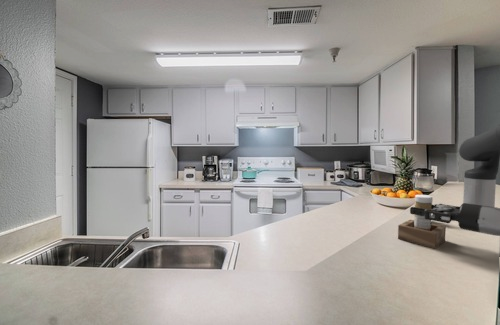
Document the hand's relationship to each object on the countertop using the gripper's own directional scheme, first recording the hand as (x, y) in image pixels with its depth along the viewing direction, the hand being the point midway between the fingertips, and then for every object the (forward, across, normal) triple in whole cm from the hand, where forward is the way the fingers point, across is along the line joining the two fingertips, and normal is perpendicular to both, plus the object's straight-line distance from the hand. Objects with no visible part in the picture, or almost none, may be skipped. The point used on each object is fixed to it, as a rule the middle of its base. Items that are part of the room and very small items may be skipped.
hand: (415, 208), depth 80 cm
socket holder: (-2, 0, +10) cm, 10 cm away
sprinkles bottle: (-2, 0, +9) cm, 9 cm away
